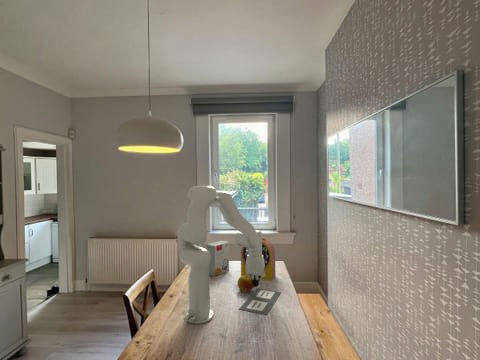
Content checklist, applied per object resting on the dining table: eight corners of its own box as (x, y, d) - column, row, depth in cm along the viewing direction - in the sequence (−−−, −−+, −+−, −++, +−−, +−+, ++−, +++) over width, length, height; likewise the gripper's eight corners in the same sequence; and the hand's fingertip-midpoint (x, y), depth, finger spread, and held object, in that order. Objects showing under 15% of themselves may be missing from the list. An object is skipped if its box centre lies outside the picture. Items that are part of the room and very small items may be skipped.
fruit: (257, 290, 145) (257, 276, 145) (245, 295, 139) (244, 280, 139) (246, 285, 152) (245, 272, 152) (234, 290, 147) (233, 276, 147)
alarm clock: (240, 276, 168) (240, 235, 168) (245, 271, 176) (245, 233, 177) (272, 280, 160) (271, 238, 160) (275, 275, 168) (275, 235, 168)
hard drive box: (214, 276, 168) (214, 246, 168) (206, 274, 173) (205, 244, 173) (229, 270, 180) (229, 241, 181) (221, 268, 185) (221, 240, 185)
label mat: (266, 315, 119) (266, 314, 119) (238, 309, 124) (238, 308, 124) (281, 292, 143) (281, 291, 143) (257, 288, 148) (257, 287, 148)
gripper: (240, 253, 142) (240, 287, 142) (266, 256, 136) (266, 291, 136) (245, 250, 149) (245, 282, 149) (270, 252, 143) (270, 285, 143)
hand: (255, 286), depth 142 cm, fingers closed
